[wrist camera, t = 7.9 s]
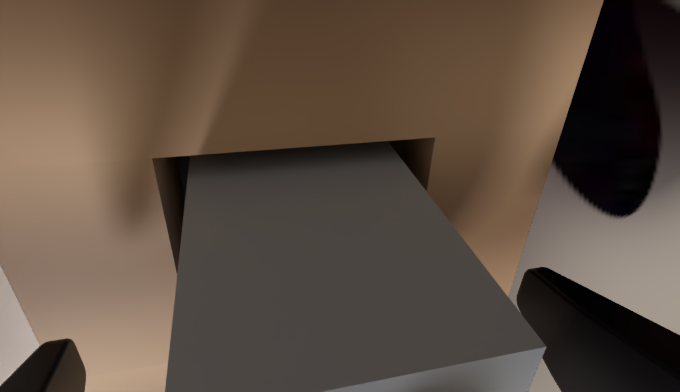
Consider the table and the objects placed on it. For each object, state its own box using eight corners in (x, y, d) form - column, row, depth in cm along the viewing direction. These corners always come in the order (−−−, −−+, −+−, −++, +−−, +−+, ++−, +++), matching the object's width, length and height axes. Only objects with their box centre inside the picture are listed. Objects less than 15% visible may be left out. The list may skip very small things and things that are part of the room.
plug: (357, 242, 14) (525, 627, 7) (215, 260, 13) (215, 736, 6) (365, 111, 12) (644, 472, 4) (193, 123, 11) (141, 616, 3)
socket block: (421, 354, 20) (461, 439, 17) (142, 406, 18) (125, 519, 14) (541, -250, 10) (711, -336, 6) (-116, -341, 7) (-408, -568, 4)
